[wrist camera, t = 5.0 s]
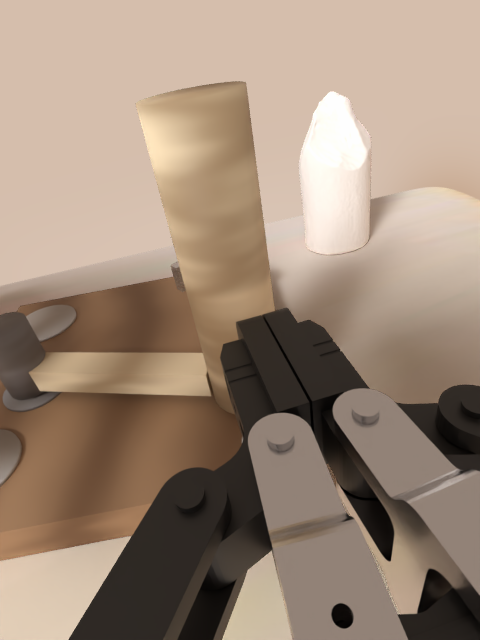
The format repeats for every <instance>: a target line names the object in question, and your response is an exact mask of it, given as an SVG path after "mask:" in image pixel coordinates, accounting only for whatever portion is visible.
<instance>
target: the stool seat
mask: <svg viewBox="0 0 480 640" xmlns="http://www.w3.org/2000/svg"><path fill="white" fill-rule="evenodd" d="M17 312H20V313H23V314H24V315H25V316H26V318H27V320H28V321H29V323H30V325H31V327H32V329H33V330H34V332H35V334H36V336H37V338H38V339H39V341H40V343H41V345H42V346H43V348H44V350H45V352H95V353H203V352H202V348H201V345H200V341H199V337H198V334H197V330H196V326H195V322H194V319H193V315H192V311H191V308H190V304H189V300H188V297H187V293H186V291H184V292H181V291H180V290H178V289H177V287H176V283H175V279H174V277H170V278H165V279H159V280H154V281H149V282H144V283H139V284H133V285H128V286H123V287H118V288H112V289H107V290H102V291H97V292H91V293H86V294H81V295H76V296H71V297H65V298H60V299H55V300H50V301H44V302H39V303H34V304H29V305H23V306H20V307H19V309H18V311H17ZM242 442H243V437H242V434H241V431H240V428H239V425H238V422H237V419H236V416H235V414H232V413H229V412H227V411H225V410H223V409H222V408H221V407H220V406H219V405H218V404H217V402H216V400H215V397H214V393H213V394H212V396H186V395H152V394H119V393H85V392H51V391H45V392H44V393H42V394H40V395H38V396H36V397H34V398H30V399H26V400H17V399H14V398H12V396H11V395H10V394H9V392H8V391H7V389H6V388H5V386H4V385H3V383H2V382H1V380H0V561H1V560H6V559H11V558H17V557H22V556H27V555H32V554H37V553H42V552H48V551H53V550H58V549H63V548H68V547H74V546H79V545H84V544H89V543H94V542H99V541H105V540H110V539H115V538H120V537H125V536H131V535H133V534H134V532H135V530H136V529H137V527H138V525H139V524H140V522H141V520H142V519H143V517H144V516H145V514H146V512H147V511H148V509H149V507H150V506H151V504H152V503H153V501H154V499H155V498H156V496H157V494H158V493H159V491H160V489H161V488H162V487H163V485H164V484H165V483H166V482H167V481H168V479H170V478H171V477H172V476H173V475H175V474H176V473H178V472H180V471H182V470H185V469H188V468H194V467H203V468H207V469H210V470H212V471H214V470H216V469H217V468H219V467H220V466H222V465H223V464H225V463H226V462H228V461H229V460H230V459H231V458H232V457H233V456H234V455H235V454H236V453H237V452H238V450H239V448H240V447H241V445H242ZM326 465H327V464H326ZM327 468H328V466H327Z"/></svg>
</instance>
